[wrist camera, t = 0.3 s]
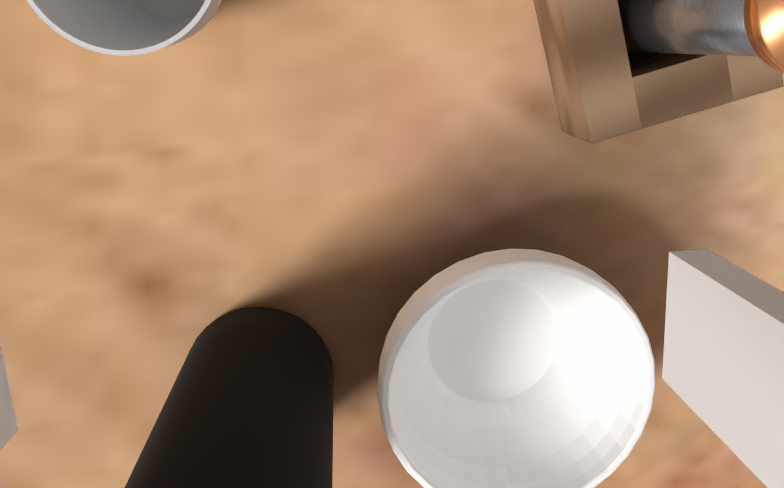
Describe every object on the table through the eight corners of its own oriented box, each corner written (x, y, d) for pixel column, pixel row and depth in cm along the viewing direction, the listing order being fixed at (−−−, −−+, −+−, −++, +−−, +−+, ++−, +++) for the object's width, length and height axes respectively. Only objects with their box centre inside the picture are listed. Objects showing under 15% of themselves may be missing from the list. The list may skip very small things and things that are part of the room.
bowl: (653, 296, 45) (714, 346, 37) (521, 479, 48) (554, 558, 40) (455, 176, 42) (480, 205, 35) (327, 378, 45) (325, 444, 37)
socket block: (522, -51, 39) (548, -63, 34) (703, -105, 39) (755, -126, 34) (562, 131, 42) (591, 143, 37) (731, 81, 41) (783, 86, 37)
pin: (579, -15, 40) (750, -53, 23) (665, -40, 39) (896, -97, 23) (597, 73, 41) (770, 95, 24) (679, 48, 41) (909, 54, 24)
